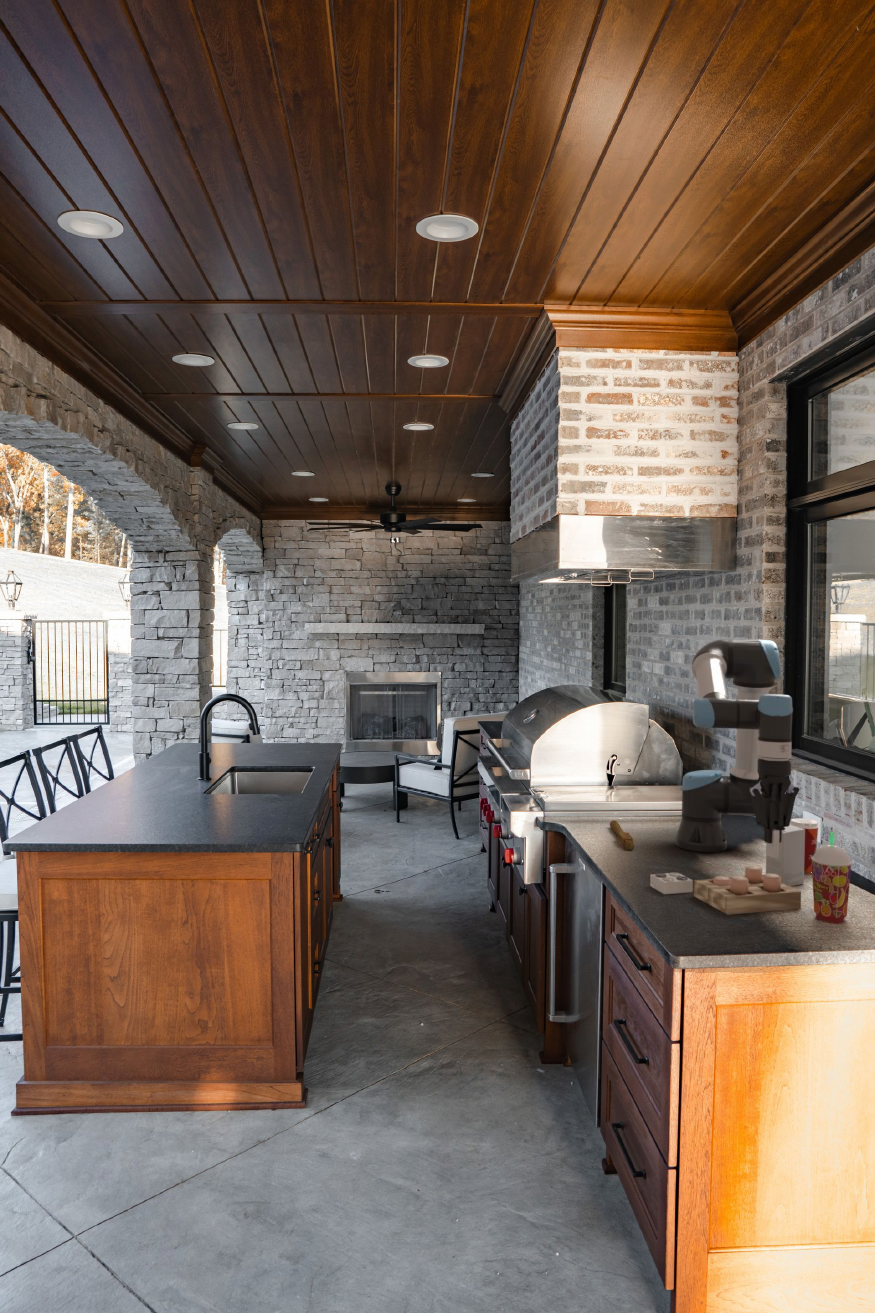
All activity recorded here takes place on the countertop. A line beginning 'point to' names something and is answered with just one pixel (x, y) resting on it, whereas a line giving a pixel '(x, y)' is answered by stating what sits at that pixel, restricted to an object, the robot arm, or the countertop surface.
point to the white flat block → (671, 883)
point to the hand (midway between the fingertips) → (772, 856)
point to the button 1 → (721, 881)
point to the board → (746, 898)
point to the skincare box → (789, 857)
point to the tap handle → (622, 835)
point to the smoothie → (831, 882)
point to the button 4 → (771, 883)
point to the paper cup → (808, 839)
